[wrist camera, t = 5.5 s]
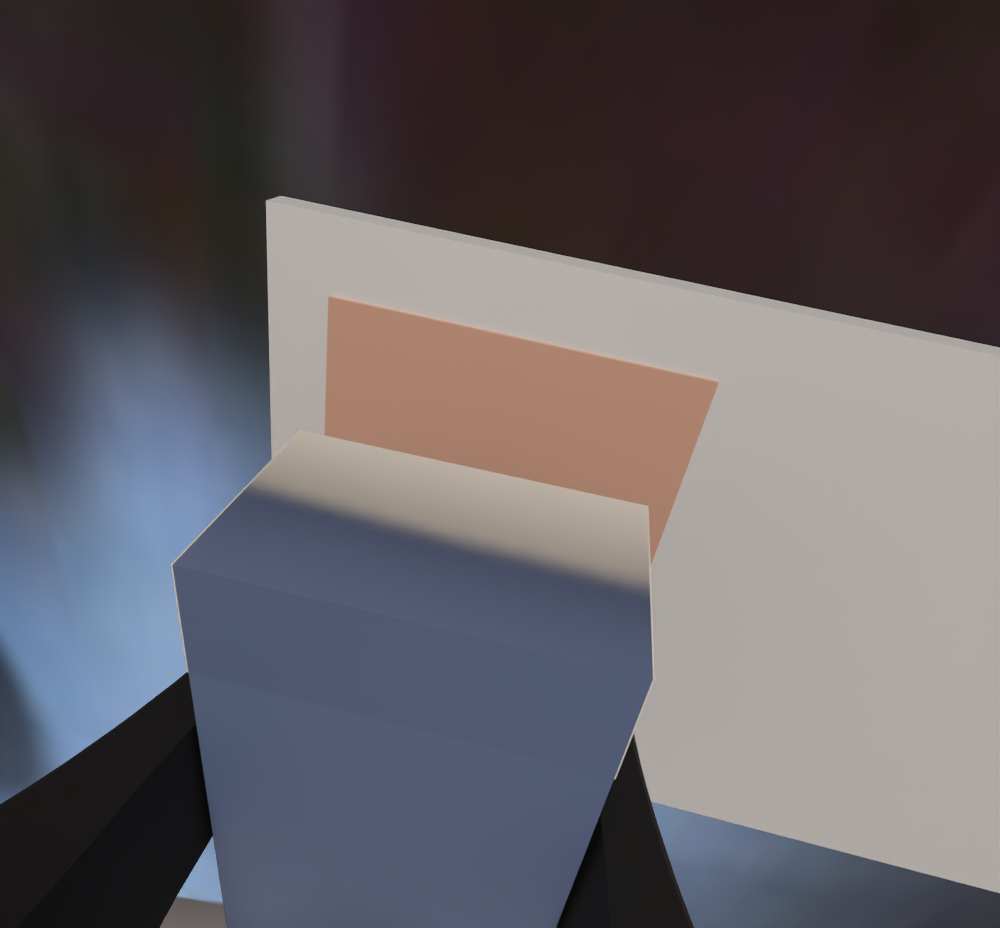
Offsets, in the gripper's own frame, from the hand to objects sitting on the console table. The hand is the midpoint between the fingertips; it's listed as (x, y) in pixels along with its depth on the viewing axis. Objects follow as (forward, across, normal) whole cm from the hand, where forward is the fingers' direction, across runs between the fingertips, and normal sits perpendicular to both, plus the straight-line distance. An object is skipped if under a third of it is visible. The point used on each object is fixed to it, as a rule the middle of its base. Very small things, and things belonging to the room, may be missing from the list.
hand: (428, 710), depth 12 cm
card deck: (+1, 0, 0) cm, 1 cm away
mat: (+5, -6, 0) cm, 8 cm away
